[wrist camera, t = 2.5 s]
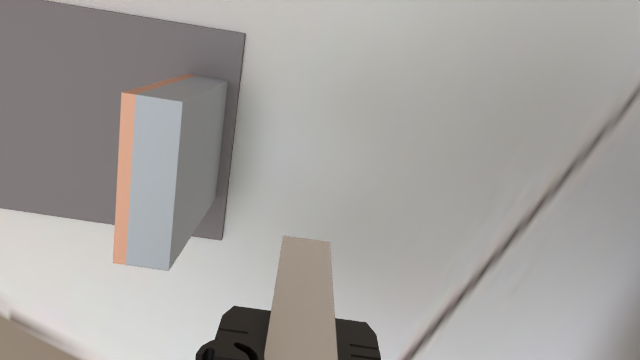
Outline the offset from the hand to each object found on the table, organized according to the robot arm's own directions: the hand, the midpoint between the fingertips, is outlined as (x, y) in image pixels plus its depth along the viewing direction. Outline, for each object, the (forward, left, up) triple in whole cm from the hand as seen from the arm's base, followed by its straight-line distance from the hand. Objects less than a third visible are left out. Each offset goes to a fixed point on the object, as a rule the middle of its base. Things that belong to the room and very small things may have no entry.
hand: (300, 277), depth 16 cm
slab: (+7, 0, -18) cm, 19 cm away
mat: (+16, 0, -18) cm, 24 cm away
